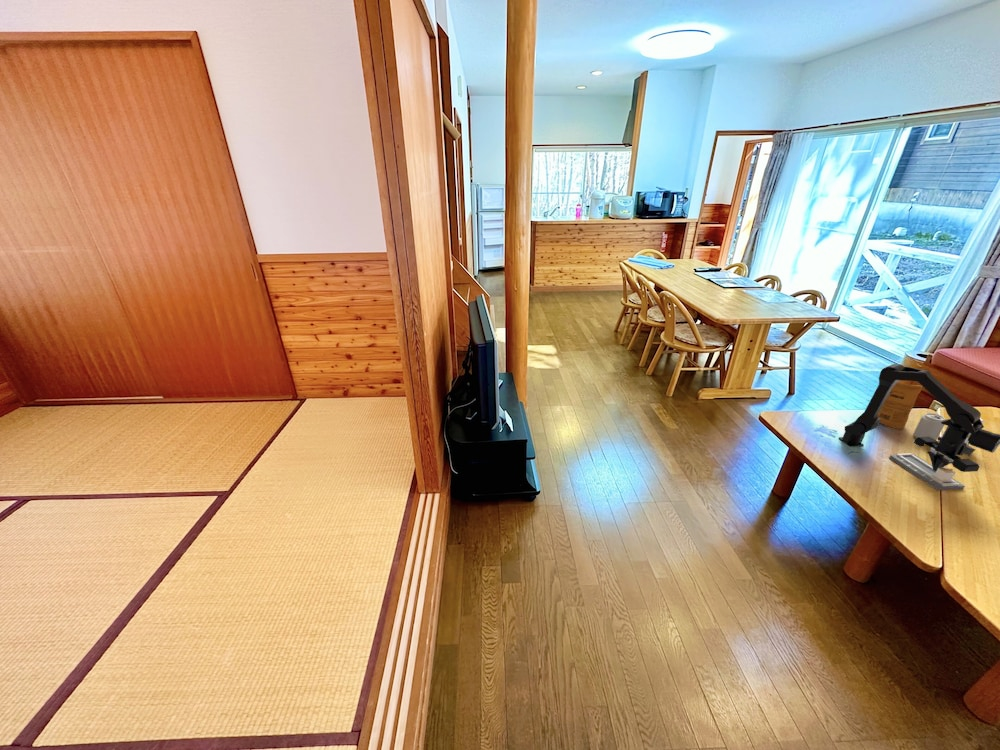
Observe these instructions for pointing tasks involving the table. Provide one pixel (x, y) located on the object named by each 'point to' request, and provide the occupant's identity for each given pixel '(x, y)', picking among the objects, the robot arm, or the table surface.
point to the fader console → (924, 471)
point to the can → (929, 426)
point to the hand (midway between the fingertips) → (935, 470)
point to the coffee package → (899, 405)
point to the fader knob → (944, 474)
